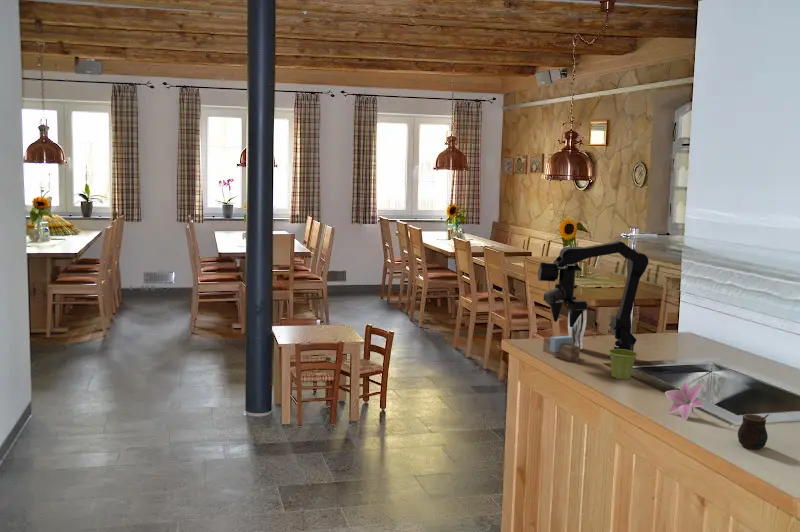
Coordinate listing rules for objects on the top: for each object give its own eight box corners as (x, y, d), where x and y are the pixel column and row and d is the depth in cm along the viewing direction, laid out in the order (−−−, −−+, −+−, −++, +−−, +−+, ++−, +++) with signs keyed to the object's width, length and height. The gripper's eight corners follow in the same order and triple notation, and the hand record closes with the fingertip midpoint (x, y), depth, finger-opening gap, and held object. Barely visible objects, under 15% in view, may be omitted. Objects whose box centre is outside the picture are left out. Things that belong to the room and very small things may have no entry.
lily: (661, 409, 242) (656, 385, 237) (699, 396, 241) (694, 371, 237) (679, 434, 231) (673, 409, 227) (718, 420, 231) (713, 395, 226)
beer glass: (587, 349, 308) (590, 311, 306) (572, 350, 305) (575, 311, 303) (577, 345, 314) (580, 307, 312) (562, 346, 311) (565, 308, 309)
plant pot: (635, 375, 274) (637, 350, 273) (635, 382, 265) (637, 357, 264) (606, 372, 277) (609, 347, 276) (606, 379, 268) (608, 353, 267)
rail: (551, 350, 305) (552, 337, 304) (578, 360, 291) (579, 347, 290) (542, 350, 303) (543, 337, 302) (569, 361, 289) (571, 348, 288)
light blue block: (567, 348, 299) (568, 335, 299) (572, 350, 297) (573, 337, 296) (549, 350, 296) (550, 336, 295) (554, 352, 293) (555, 338, 293)
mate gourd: (744, 439, 215) (748, 403, 214) (772, 448, 210) (777, 411, 208) (731, 445, 211) (735, 408, 209) (759, 454, 205) (764, 416, 204)
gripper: (533, 278, 297) (530, 320, 300) (564, 287, 281) (561, 331, 283) (557, 277, 302) (554, 318, 305) (590, 286, 286) (586, 329, 288)
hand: (563, 324), depth 295 cm, fingers open, 9 cm apart
